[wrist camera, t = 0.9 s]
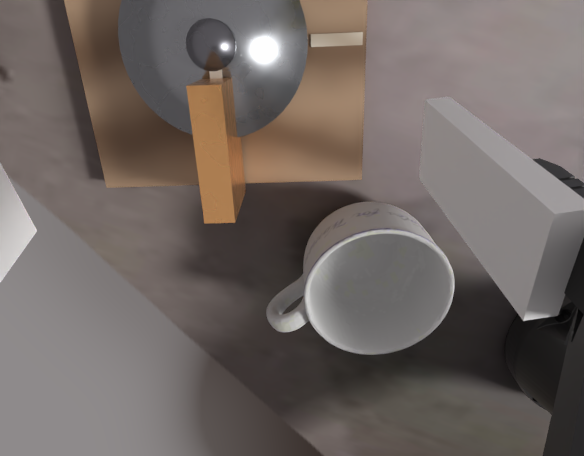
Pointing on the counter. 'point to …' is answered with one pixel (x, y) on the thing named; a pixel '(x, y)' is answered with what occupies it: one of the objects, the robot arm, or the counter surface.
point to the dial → (215, 77)
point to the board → (255, 146)
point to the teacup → (368, 281)
